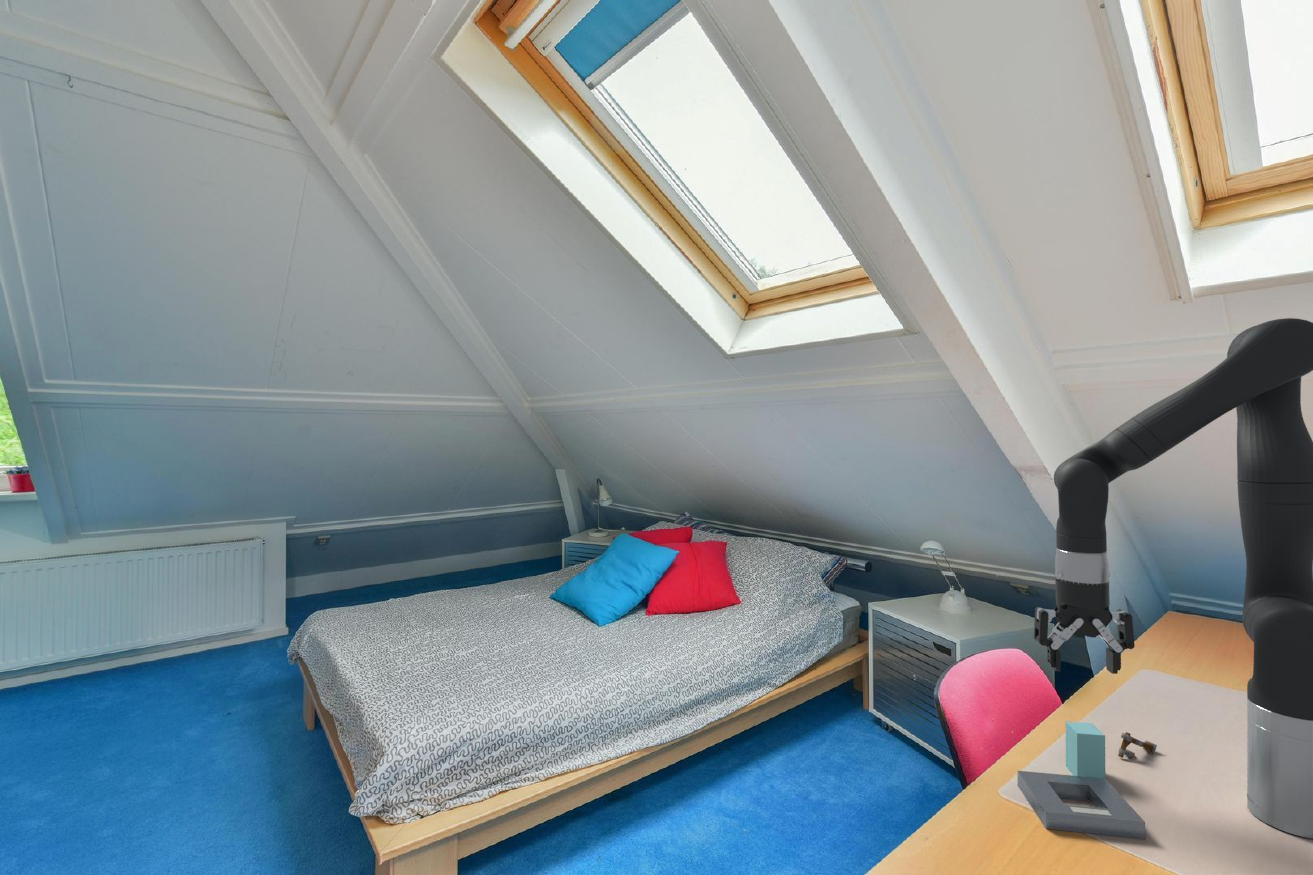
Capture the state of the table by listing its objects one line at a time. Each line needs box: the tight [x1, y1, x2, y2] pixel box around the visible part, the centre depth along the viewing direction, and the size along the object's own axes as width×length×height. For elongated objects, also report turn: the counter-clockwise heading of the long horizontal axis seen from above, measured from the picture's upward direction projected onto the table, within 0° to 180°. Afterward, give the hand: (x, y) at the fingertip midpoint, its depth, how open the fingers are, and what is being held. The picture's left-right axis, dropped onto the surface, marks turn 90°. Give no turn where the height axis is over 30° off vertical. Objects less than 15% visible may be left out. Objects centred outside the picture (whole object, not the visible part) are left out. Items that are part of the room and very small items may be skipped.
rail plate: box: [1017, 770, 1146, 840], centre depth 94 cm, size 13×11×3 cm
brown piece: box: [1117, 731, 1158, 759], centre depth 109 cm, size 2×8×4 cm, turn 108°
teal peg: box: [1065, 720, 1106, 779], centre depth 104 cm, size 4×4×8 cm
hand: (1083, 670), depth 103 cm, fingers open, 8 cm apart
